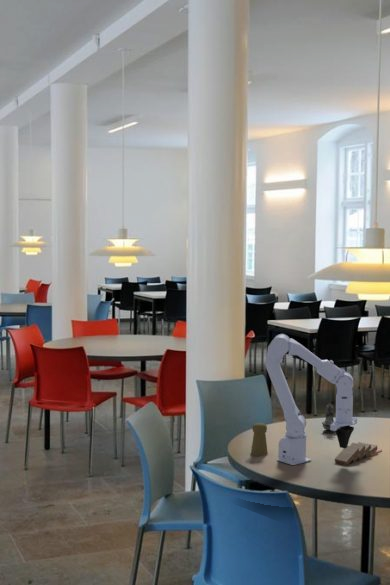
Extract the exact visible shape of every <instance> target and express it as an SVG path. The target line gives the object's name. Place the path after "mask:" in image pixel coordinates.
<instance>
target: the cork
mask: <svg viewBox="0 0 390 585" xmlns="http://www.w3.org/2000/svg"><path fill="white" fill-rule="evenodd" d="M267 427H268V426H267V424H266V423H263V422H256V423H254V424H253V425H252V429H251V430H252V432H253V437H252V444H251V449H250V450H251V452H250V455H252V456H255V457H265V456H268V454H269V453H268V445H267V444H268V443H267V437H266V432H267V430H268V428H267Z"/></svg>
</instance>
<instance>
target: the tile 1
mask: <svg viewBox="0 0 390 585" xmlns="http://www.w3.org/2000/svg"><path fill="white" fill-rule="evenodd" d="M358 453H359V448H356V447H351V446H350V445H348V446H347V448H342V450H341V451H340V452H339V454H337V455H336V457H335V458H334V463H335V464H339V465H344V466H349V464H350V463H352V462H351V461H352V460H353V459H354V457H355V456H356V455H357V454H358Z"/></svg>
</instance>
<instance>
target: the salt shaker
mask: <svg viewBox="0 0 390 585" xmlns="http://www.w3.org/2000/svg"><path fill="white" fill-rule="evenodd" d="M324 414H325V420H324V421H323V422H322V423H321V424H322V427H323V429H324V430H322V433H323V434H329V435H333V434H336V433H335V431H333V430H330V424H332V423H333V422H334V421H335V420H334V415H335V413H334V405H333V404H332V402H329V404H326V407H325V413H324Z"/></svg>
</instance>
